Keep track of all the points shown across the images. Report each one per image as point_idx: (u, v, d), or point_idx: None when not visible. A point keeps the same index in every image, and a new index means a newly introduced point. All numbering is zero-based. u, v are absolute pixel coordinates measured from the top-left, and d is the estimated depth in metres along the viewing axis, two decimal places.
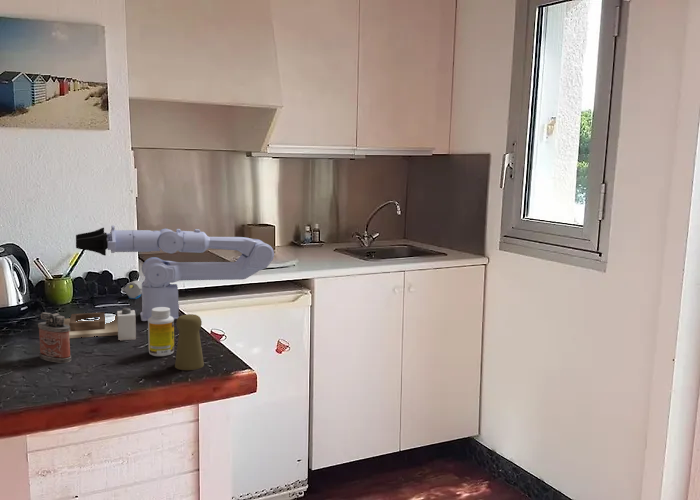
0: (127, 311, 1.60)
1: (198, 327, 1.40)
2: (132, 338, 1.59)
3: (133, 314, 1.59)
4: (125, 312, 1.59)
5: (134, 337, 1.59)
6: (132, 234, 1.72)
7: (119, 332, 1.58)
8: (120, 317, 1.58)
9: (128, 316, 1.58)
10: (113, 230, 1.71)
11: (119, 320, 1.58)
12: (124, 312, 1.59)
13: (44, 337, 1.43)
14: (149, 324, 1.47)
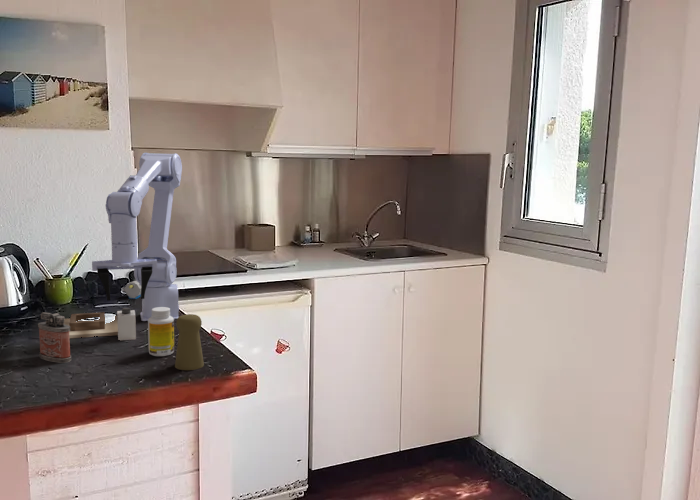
0: (127, 311, 1.59)
1: (198, 327, 1.40)
2: (132, 338, 1.59)
3: (133, 314, 1.59)
4: (125, 312, 1.59)
5: (134, 337, 1.59)
6: (133, 244, 1.56)
7: (119, 332, 1.58)
8: (120, 317, 1.58)
9: (128, 316, 1.58)
10: (130, 264, 1.56)
11: (119, 320, 1.58)
12: (124, 312, 1.59)
13: (44, 337, 1.43)
14: (149, 324, 1.47)
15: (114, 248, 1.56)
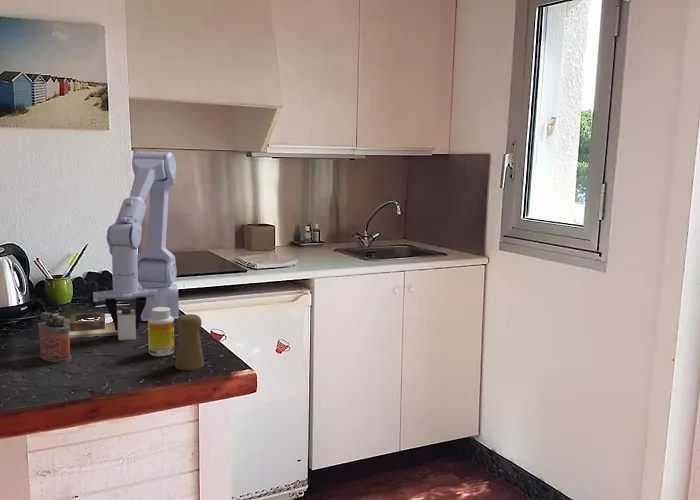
0: (127, 311, 1.59)
1: (198, 327, 1.40)
2: (132, 338, 1.59)
3: (133, 314, 1.59)
4: (125, 312, 1.59)
5: (134, 337, 1.59)
6: (134, 275, 1.58)
7: (119, 332, 1.58)
8: (120, 317, 1.58)
9: (128, 316, 1.58)
10: (131, 295, 1.57)
11: (119, 320, 1.58)
12: (124, 312, 1.59)
13: (44, 337, 1.43)
14: (149, 324, 1.47)
15: (115, 279, 1.57)
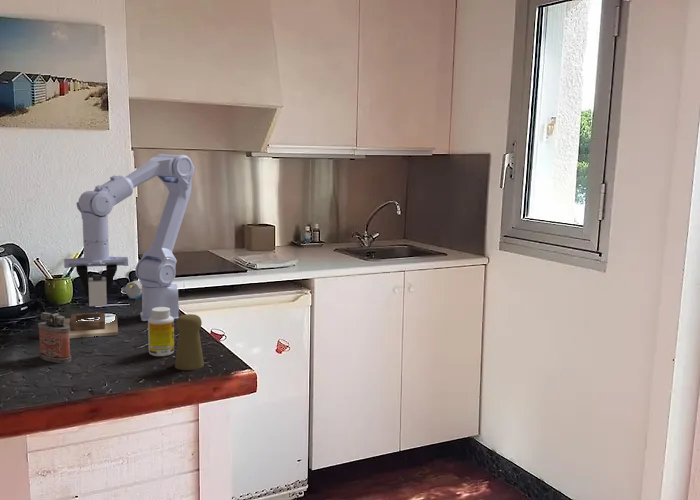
0: (98, 277, 1.63)
1: (198, 327, 1.40)
2: (103, 304, 1.63)
3: (104, 280, 1.63)
4: (96, 278, 1.63)
5: (105, 303, 1.63)
6: (104, 241, 1.61)
7: (90, 298, 1.61)
8: (91, 283, 1.61)
9: (99, 282, 1.62)
10: (101, 261, 1.61)
11: (90, 286, 1.61)
12: (95, 278, 1.63)
13: (44, 337, 1.43)
14: (149, 324, 1.47)
15: (86, 246, 1.60)
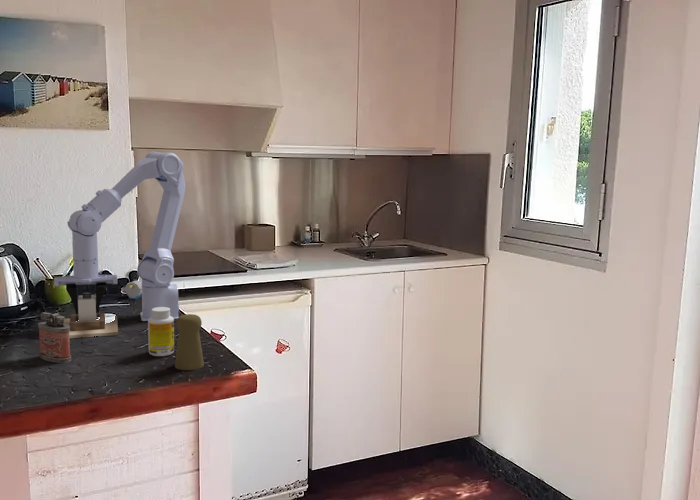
0: (87, 295, 1.65)
1: (198, 327, 1.40)
2: None
3: (93, 298, 1.65)
4: (85, 296, 1.65)
5: None
6: (93, 260, 1.64)
7: (79, 316, 1.64)
8: (80, 301, 1.64)
9: (88, 300, 1.64)
10: (91, 279, 1.63)
11: (79, 304, 1.64)
12: (84, 296, 1.65)
13: (44, 337, 1.43)
14: (149, 324, 1.47)
15: (75, 265, 1.63)
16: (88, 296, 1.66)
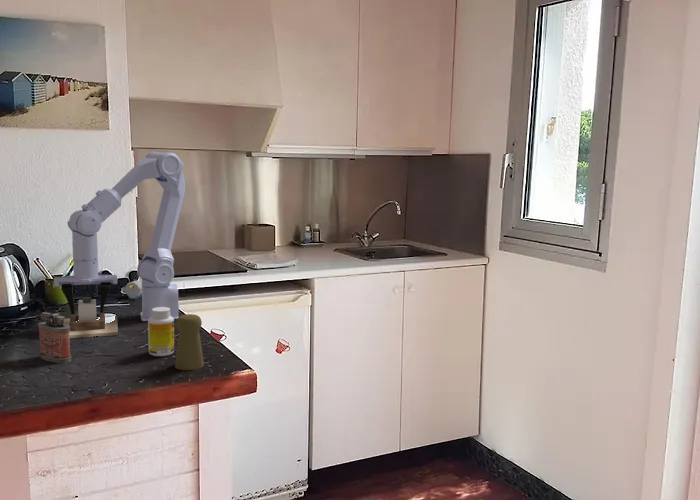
0: (88, 300, 1.66)
1: (198, 327, 1.40)
2: None
3: (93, 303, 1.65)
4: (86, 301, 1.65)
5: None
6: (93, 260, 1.64)
7: (80, 320, 1.64)
8: (80, 306, 1.64)
9: (88, 305, 1.64)
10: (91, 279, 1.63)
11: (79, 308, 1.64)
12: (85, 301, 1.65)
13: (44, 337, 1.43)
14: (149, 324, 1.47)
15: (75, 265, 1.63)
16: (88, 301, 1.66)
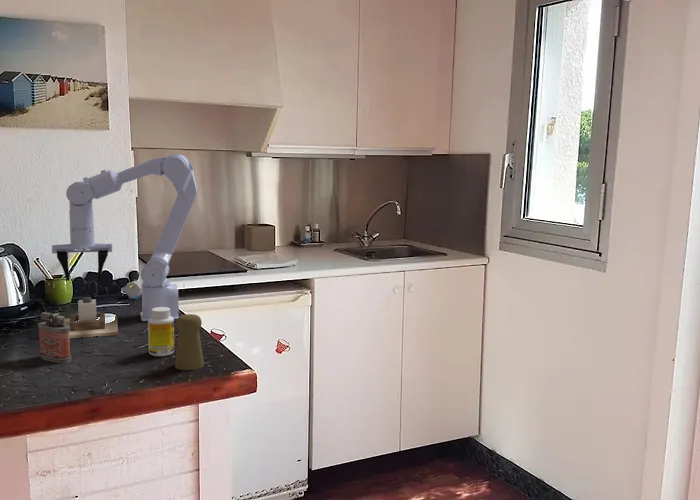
0: (88, 300, 1.66)
1: (198, 327, 1.40)
2: None
3: (93, 303, 1.65)
4: (86, 301, 1.65)
5: None
6: (89, 229, 1.72)
7: (80, 320, 1.64)
8: (80, 306, 1.64)
9: (88, 305, 1.64)
10: (87, 247, 1.72)
11: (79, 308, 1.64)
12: (85, 301, 1.65)
13: (44, 337, 1.43)
14: (149, 324, 1.47)
15: (72, 233, 1.71)
16: (88, 301, 1.66)
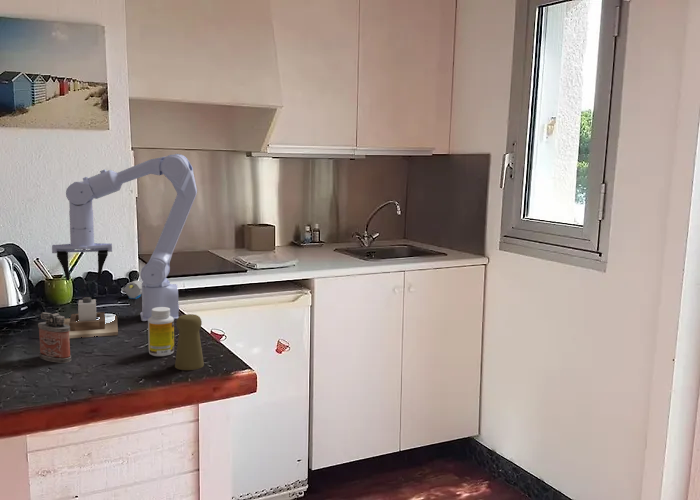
0: (88, 300, 1.66)
1: (198, 327, 1.40)
2: None
3: (93, 303, 1.65)
4: (86, 301, 1.65)
5: None
6: (89, 229, 1.72)
7: (80, 320, 1.64)
8: (80, 306, 1.64)
9: (88, 305, 1.64)
10: (87, 247, 1.72)
11: (79, 308, 1.64)
12: (85, 301, 1.65)
13: (44, 337, 1.43)
14: (149, 324, 1.47)
15: (72, 233, 1.72)
16: (88, 301, 1.66)
